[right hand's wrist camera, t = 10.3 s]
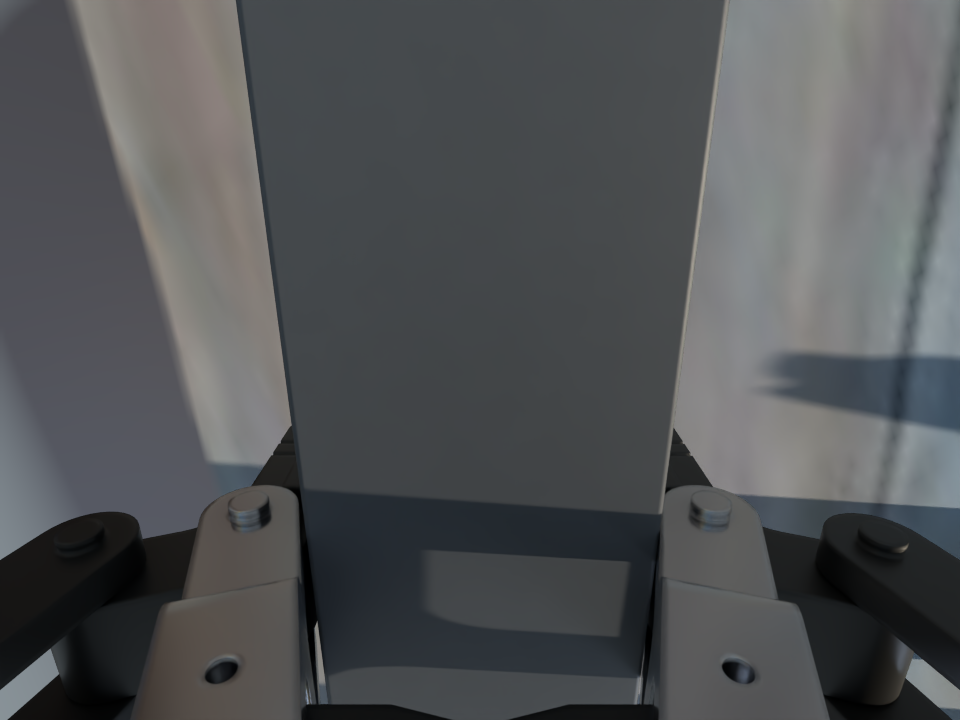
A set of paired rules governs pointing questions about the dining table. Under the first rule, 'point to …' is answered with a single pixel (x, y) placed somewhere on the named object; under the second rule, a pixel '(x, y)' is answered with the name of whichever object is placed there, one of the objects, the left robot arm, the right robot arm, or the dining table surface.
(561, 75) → the bar
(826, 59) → the dining table surface
